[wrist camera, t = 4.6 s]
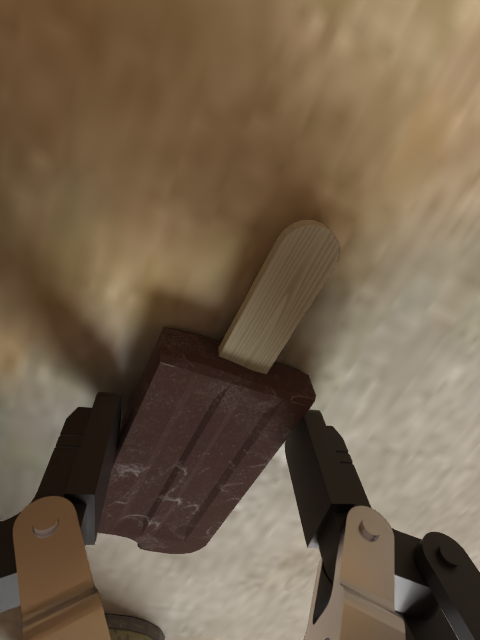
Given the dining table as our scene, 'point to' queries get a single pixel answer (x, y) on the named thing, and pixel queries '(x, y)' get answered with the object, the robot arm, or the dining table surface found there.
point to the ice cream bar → (216, 406)
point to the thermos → (131, 629)
